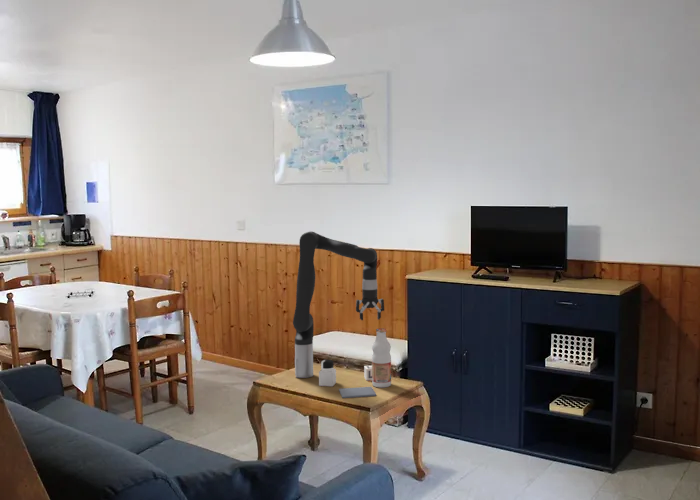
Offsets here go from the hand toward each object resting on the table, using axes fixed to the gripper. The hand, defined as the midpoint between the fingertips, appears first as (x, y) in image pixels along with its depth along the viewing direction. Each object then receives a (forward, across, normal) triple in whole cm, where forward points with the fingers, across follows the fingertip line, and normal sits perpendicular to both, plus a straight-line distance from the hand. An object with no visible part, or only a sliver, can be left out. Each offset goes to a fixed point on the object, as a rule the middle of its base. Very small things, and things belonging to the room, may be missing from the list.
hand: (370, 319), depth 328 cm
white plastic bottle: (+31, -3, +12) cm, 33 cm away
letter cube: (+30, 0, 0) cm, 31 cm away
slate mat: (+30, +11, +22) cm, 39 cm away
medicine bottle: (+31, +23, +5) cm, 39 cm away
